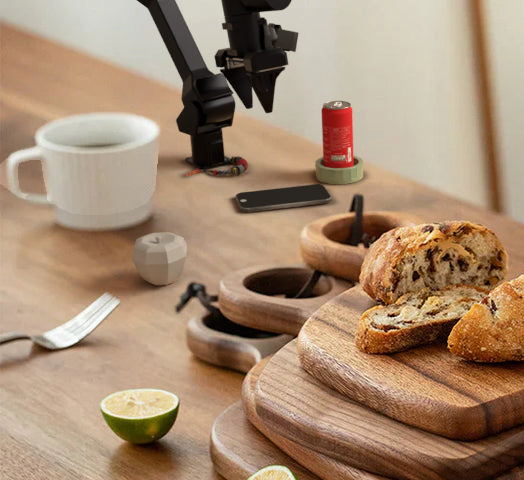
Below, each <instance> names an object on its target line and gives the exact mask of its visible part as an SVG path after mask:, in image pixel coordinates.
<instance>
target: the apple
mask: <svg viewBox="0 0 524 480" xmlns="http://www.w3.org/2000/svg"><path fill="white" fill-rule="evenodd" d="M133 245H134V246H133V248H132V250H133V251H132V254H131V255H132V256H131V260H132V262H133V264H134V267H135V270H136V271H137V273H138V274H139V275H140V276H141V278H143V280H145V281H146V282H148V283H150V284H151V285H154V286H168V285H170V284H172V283H174V282H177V281H178V279H180V277H181V275H182V272H183V271H184V268H185V263H186V260H187V259H186V258H187V255H188V245H187V242H186V240H185V238H184V237H182V236H180V235H178V234H177V233H176V234H175V233H173V232H170V231H166V232H165V231H163V232H150V233H148V234H145V235H143V236H140V237H138V238H136V239H135V243H134V244H133Z"/></svg>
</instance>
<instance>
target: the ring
mask: <svg viewBox="0 0 524 480" xmlns="http://www.w3.org/2000/svg"><path fill="white" fill-rule="evenodd" d="M353 164H354V166H352V167H348V168H329V167H325V166H323V156H321V157H318V158H317V159H316V160H315V165H314V166H315V178H316V180H317V181H319V182H321V183H325V184H329V185H347V184H353V183H356V182H359V181H360V180H362V179H363V178H364V159H362V158H361V157H360V156H357V155H353Z"/></svg>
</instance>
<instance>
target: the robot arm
mask: <svg viewBox="0 0 524 480" xmlns="http://www.w3.org/2000/svg"><path fill="white" fill-rule="evenodd" d="M136 1H137V2H138V3H139V4H141V5H142V6H144V7H145V8H146V9H147V10H148V13H149V14H150V16H151V18H152V21H153V23H154V25H155V27H156V29H157V31H158V33H159V35H160V37H161V40H162V42H163V43H164V45H165V48H166V50H167V52H168V54H169V56H170V59H171V60H172V62H173V64H174V66H175V68H176V70H177V73H178V76H179V78H180V79H181V81H182V89H181V102H182V106H183V108H182V109H181V111H180V113H179V114H178V116H177V117H176V119H175V122H176V126H177V130H178V132H180V133H183V134H184V135H185V134H186V135H188V136H189V139H190V148H191V156H188V157H185V158H184V162H186V163H187V164H189V165H191V166H193V167H195V168H196V169H197V168H200V169H203V170H204V169H211V168H215V167H219V166H223V165H228V164H233V163H232V162H229V161H225V159H226V160H227V159H228V158H229V157H228V156H226V155H225V146H224V145H225V144H224V138H223V137H224V135H223V129H224V128H228V127H229V128H230V127H232V126H233V123H234V117H235V111H236V100H235V97H234V92H235V94H236V95H237V97H238V99H239V100H240V102H241V103H242V104H243V106H244V107H245V110H251V109H252V108H253V107H254V98H253V91H254V93H255V95H256V98H257V100H258V102H259V104H260V105H261V107H262V109H263V111H264V113H265V114H272V113H273V111H274V101H275V91H276V83H277V79H278V77H279V76H280V75H281V73H282V72H283V71H285V70H286V66H289V60H288V52H293V53H296V52H297V45H298V41H299V40H298V38H299V32H297V31H292V30H287V29H283V28H282V25H281V24H277V23H274V22H273V23H272V22H270V23H268V20H267V18H265V17H264V16H261V13H268V12H278V11H283V10H285V9H287V8H288V7H289V6H290V5H291V3H292V0H220V1H221V5H222V11H223V16H224V22H221V27H222V30H224V31H225V30H226V32H227V39H228V43H229V47H224V48H221V49H218V50H217V51H216V52H215V54H214V61H215V67H216V68H220V69H219V73H213V72H212V71H211V70H210V69H209V67H208V66H207V64H206V62H205V59H204V58H203V56H202V54H201V51H200V49H199V47H198V45H197V43H196V41H195V39H194V35H192V31H190V28H189V26H188V24H187V22H186V20H185V18H184V15H183V13H182V12H181V9H180V8H179V5H178V3H177V1H176V0H136ZM230 86H231V87H230ZM231 88H232V89H233V90H232V89H231Z"/></svg>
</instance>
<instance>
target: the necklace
mask: <svg viewBox="0 0 524 480" xmlns="http://www.w3.org/2000/svg"><path fill="white" fill-rule="evenodd" d="M225 161H229V162H232V163H231V164H234V165H236V166H235V167H232V168H231V169H228V170H217V169H213V170H212V169H211V168H207V169H200V168H197V167H196V168H195V169H194V170H192V171H190V172H188V173H186V174H185V175H184V177H185V178H187V177H189V176H192V175H194V174H200V173H203V172H204V173H210V174H213V175H214V176H222V175H223V176H226V175H228V176H230V175H232V176H233V177H234V176H238V175H241V174H242V173H244V172H245V171H247V169H248V165H249V163H248V161H247V159H245V158H243V156H231V158H230V157H228V159H227V160H226V159H225Z"/></svg>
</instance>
